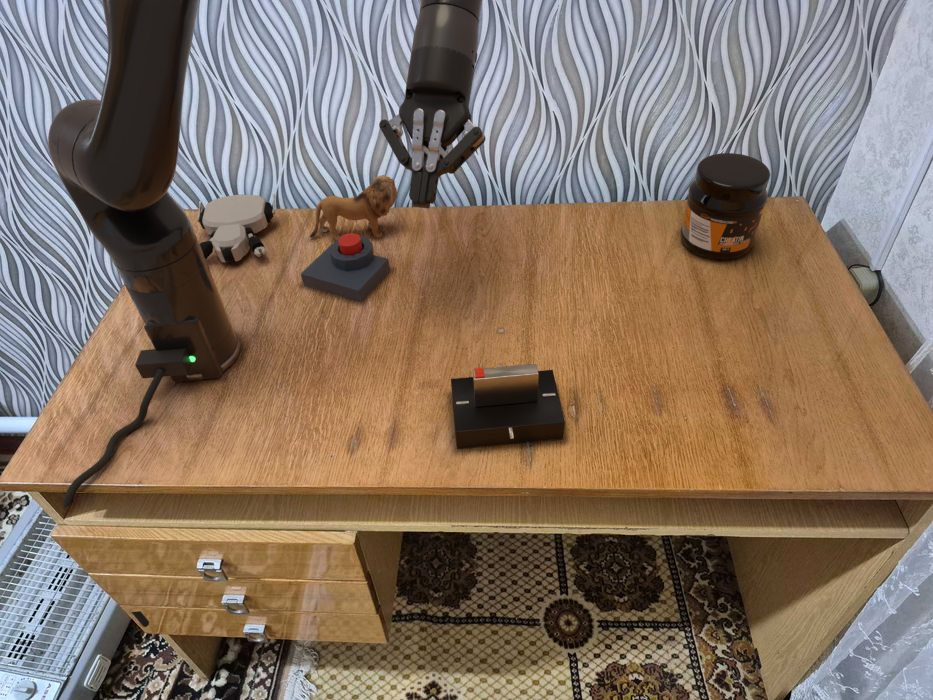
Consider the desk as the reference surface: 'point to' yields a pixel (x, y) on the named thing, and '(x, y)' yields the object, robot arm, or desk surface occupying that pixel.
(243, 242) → the robot toy
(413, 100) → the robot arm
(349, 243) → the button
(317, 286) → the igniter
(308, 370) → the desk surface
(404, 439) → the desk surface
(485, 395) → the knob
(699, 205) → the supplement container
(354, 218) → the lion figurine
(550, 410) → the panel
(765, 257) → the desk surface
